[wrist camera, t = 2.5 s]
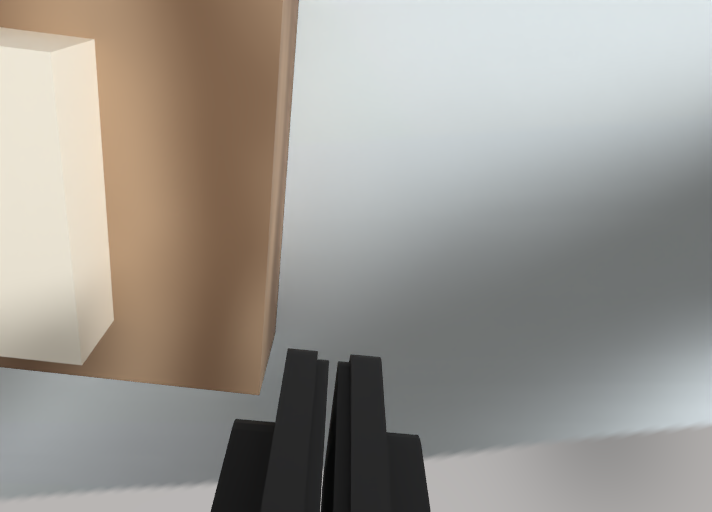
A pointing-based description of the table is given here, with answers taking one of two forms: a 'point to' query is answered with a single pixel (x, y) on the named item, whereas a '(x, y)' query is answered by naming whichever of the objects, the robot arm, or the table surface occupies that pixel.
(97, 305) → the cream rectangular block
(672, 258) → the table surface
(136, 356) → the brown flat block
